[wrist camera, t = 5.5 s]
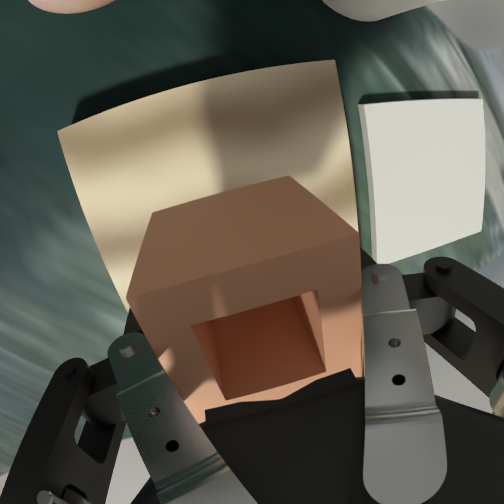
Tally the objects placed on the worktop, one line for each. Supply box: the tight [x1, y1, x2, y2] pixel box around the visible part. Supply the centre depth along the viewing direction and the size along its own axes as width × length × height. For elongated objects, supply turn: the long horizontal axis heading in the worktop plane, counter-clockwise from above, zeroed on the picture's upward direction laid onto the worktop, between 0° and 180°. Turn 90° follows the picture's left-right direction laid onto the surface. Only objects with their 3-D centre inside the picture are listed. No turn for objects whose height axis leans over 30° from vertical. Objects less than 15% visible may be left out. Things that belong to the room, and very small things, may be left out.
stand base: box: [57, 60, 358, 313], centre depth 19 cm, size 16×16×2 cm
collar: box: [126, 175, 362, 424], centre depth 11 cm, size 6×6×6 cm
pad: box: [358, 98, 485, 264], centre depth 21 cm, size 12×12×1 cm
